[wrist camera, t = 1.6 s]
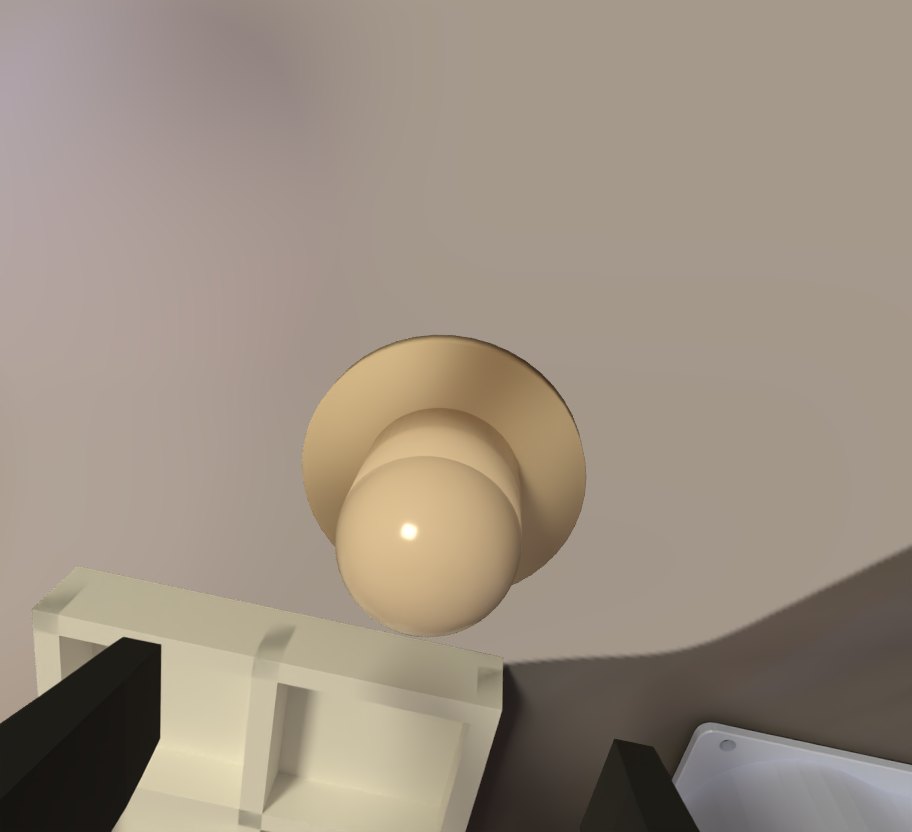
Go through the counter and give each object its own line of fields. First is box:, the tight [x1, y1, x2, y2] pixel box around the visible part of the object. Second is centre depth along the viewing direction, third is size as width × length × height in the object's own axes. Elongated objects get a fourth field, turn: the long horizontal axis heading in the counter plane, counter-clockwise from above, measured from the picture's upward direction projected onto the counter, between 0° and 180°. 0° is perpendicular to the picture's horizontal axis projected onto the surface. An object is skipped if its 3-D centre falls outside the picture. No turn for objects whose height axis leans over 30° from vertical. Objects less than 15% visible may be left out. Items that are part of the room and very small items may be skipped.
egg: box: [335, 408, 522, 637], centre depth 16 cm, size 4×4×5 cm
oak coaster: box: [302, 335, 586, 585], centre depth 18 cm, size 8×8×1 cm
